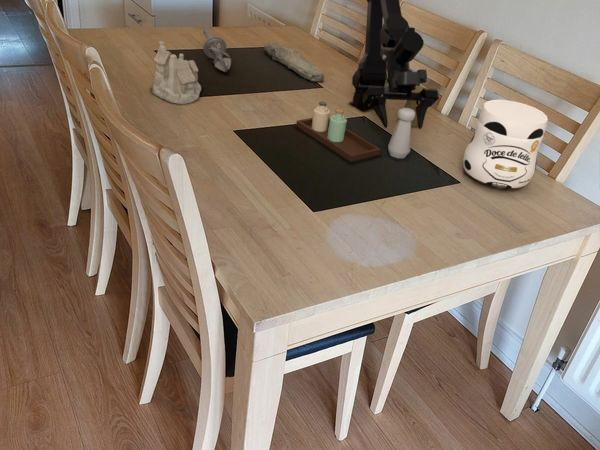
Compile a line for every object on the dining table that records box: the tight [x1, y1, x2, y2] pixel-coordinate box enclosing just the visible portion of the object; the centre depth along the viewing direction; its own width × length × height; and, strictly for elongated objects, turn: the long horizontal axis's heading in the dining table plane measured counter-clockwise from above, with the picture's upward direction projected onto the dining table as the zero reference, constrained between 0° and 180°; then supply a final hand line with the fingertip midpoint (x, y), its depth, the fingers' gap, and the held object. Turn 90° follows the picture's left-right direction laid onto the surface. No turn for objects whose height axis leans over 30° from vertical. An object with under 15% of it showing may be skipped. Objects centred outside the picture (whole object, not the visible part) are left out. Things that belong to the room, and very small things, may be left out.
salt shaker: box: [387, 107, 415, 159], centre depth 152 cm, size 6×6×13 cm
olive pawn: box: [403, 85, 424, 128], centre depth 173 cm, size 6×6×11 cm
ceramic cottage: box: [151, 40, 202, 105], centre depth 172 cm, size 16×16×15 cm
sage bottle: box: [327, 108, 348, 142], centre depth 156 cm, size 4×4×8 cm
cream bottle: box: [311, 101, 331, 132], centre depth 161 cm, size 4×4×7 cm
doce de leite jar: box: [462, 99, 549, 191], centre depth 146 cm, size 17×17×18 cm
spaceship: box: [202, 25, 232, 73], centre depth 202 cm, size 8×35×8 cm
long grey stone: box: [263, 41, 325, 82], centre depth 207 cm, size 35×5×10 cm
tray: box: [295, 117, 382, 163], centre depth 158 cm, size 10×23×2 cm, turn 37°
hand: (403, 127), depth 151 cm, fingers open, 9 cm apart
